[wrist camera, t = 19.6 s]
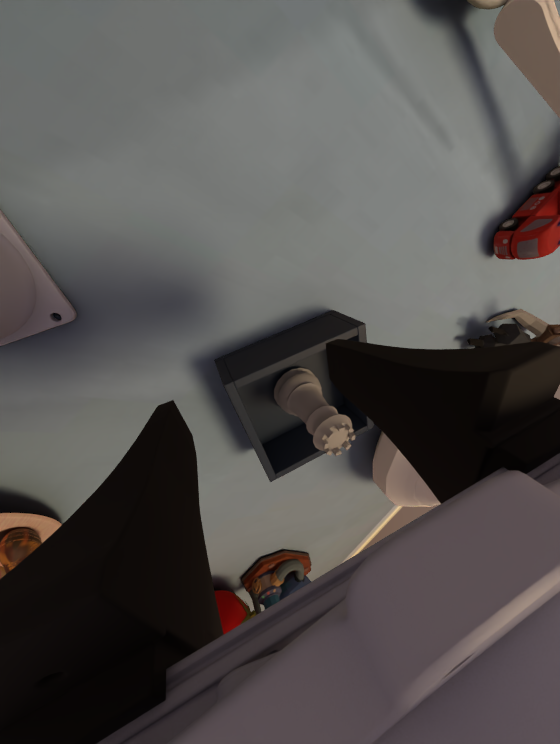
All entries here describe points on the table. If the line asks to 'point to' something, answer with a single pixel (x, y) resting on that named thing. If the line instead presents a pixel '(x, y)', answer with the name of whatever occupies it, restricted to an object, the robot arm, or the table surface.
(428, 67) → the table surface
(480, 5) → the saucer
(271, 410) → the bin
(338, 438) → the rook chess piece
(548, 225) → the toy fire truck
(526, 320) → the toy
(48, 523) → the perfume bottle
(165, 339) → the table surface
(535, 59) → the knife
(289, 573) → the model
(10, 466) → the table surface
